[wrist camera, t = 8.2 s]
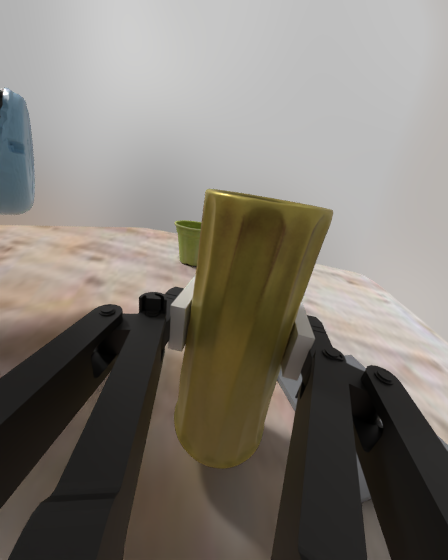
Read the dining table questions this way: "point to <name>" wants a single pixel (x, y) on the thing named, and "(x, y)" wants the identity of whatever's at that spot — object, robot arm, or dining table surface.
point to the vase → (242, 318)
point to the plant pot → (188, 241)
